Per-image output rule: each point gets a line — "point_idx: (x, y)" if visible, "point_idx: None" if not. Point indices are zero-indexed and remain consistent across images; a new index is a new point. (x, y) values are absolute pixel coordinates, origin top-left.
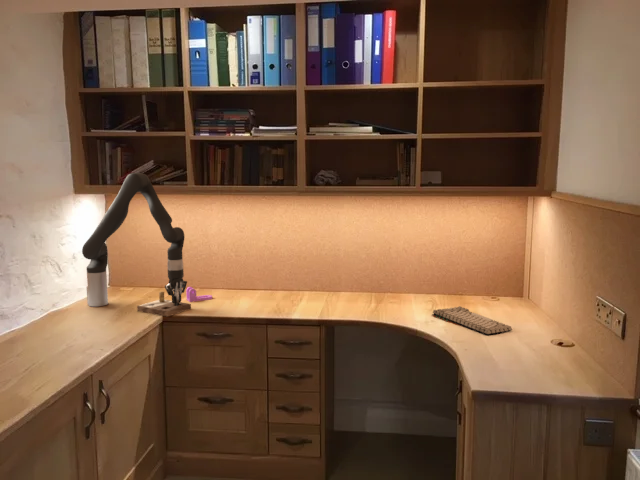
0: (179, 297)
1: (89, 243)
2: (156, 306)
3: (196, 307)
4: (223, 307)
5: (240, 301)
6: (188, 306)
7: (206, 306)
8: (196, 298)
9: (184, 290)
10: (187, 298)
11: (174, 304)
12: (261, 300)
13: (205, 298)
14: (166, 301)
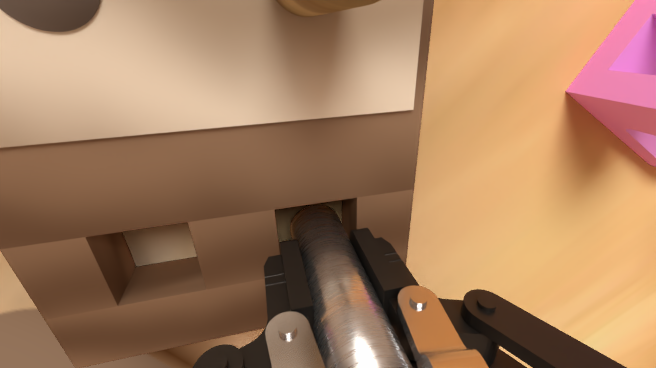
0: None
1: None
2: (65, 138)
3: (432, 264)
4: None
5: (612, 322)
6: None
7: (476, 287)
8: (626, 127)
9: (497, 363)
10: (641, 21)
11: (296, 234)
12: (634, 360)
13: (651, 158)
14: (353, 27)
